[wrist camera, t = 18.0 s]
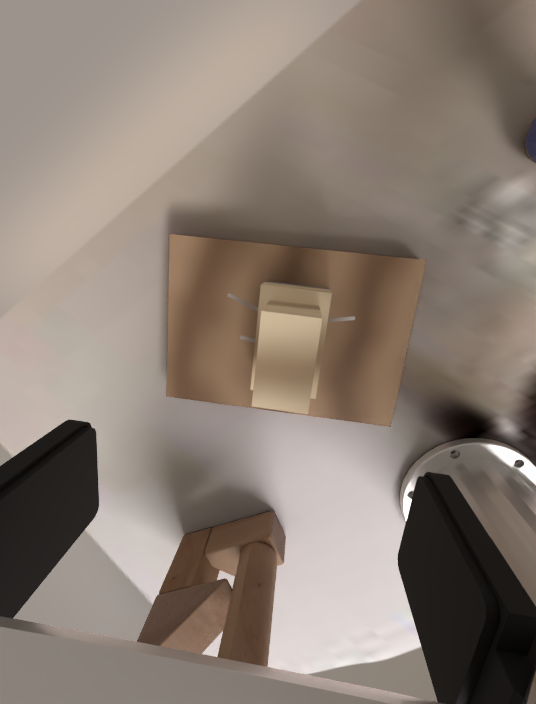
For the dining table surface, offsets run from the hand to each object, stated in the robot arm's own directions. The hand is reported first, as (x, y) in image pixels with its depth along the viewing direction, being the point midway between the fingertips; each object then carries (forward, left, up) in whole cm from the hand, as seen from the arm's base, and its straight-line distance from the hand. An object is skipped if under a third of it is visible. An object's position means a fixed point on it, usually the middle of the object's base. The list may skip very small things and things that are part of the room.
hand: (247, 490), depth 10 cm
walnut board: (0, 0, -22) cm, 22 cm away
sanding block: (0, 0, -20) cm, 20 cm away
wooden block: (+3, +23, -22) cm, 32 cm away
